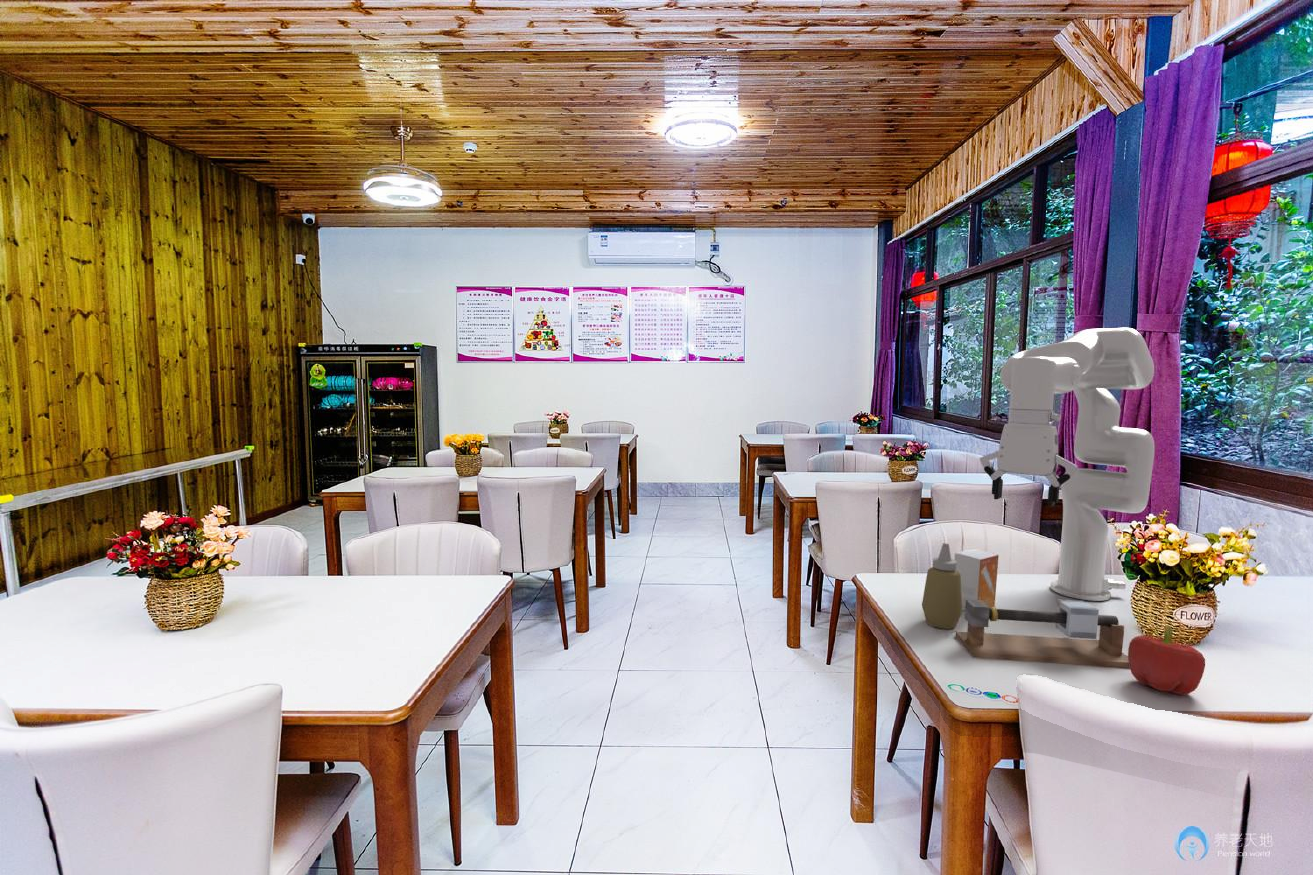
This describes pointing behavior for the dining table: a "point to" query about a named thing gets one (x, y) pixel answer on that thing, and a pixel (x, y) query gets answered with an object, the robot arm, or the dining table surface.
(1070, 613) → the sleeve
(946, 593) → the squeeze bottle
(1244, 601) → the dining table surface
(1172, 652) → the vegetable
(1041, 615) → the rod stand
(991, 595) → the small box
